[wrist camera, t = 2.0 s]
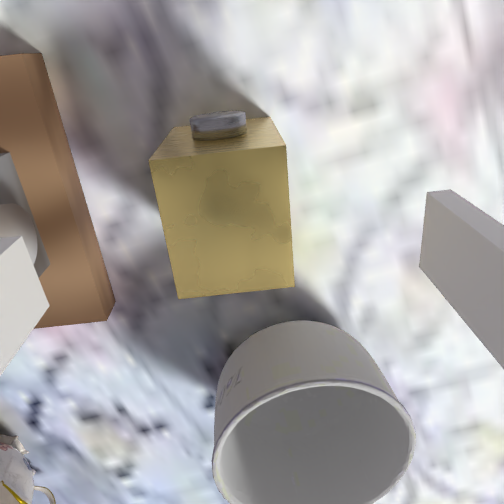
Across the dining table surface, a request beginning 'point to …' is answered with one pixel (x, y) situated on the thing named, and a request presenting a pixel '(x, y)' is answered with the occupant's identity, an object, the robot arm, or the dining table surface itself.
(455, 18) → the dining table surface
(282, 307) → the dining table surface
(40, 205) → the rig
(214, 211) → the block
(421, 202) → the dining table surface
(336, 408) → the teacup
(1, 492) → the chinaware
